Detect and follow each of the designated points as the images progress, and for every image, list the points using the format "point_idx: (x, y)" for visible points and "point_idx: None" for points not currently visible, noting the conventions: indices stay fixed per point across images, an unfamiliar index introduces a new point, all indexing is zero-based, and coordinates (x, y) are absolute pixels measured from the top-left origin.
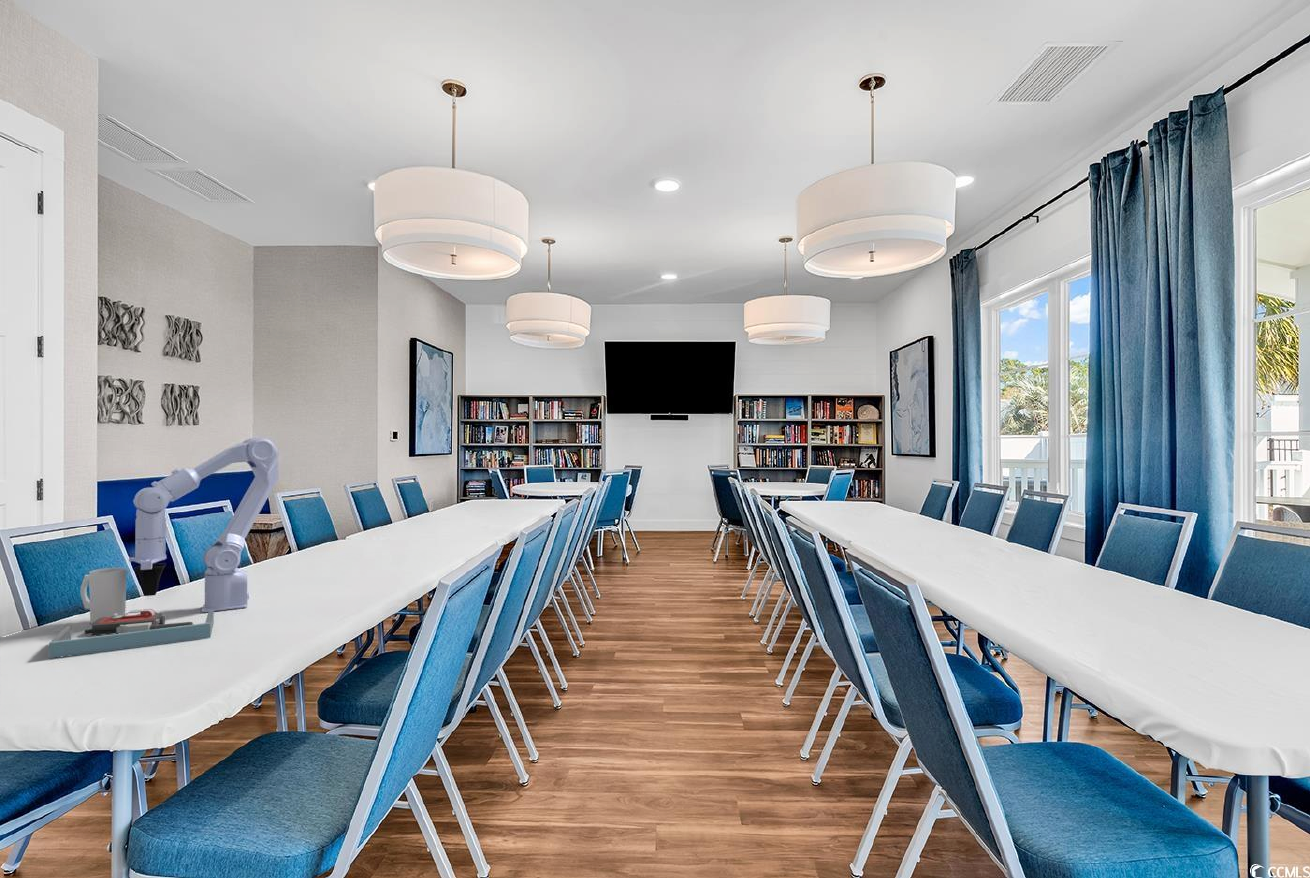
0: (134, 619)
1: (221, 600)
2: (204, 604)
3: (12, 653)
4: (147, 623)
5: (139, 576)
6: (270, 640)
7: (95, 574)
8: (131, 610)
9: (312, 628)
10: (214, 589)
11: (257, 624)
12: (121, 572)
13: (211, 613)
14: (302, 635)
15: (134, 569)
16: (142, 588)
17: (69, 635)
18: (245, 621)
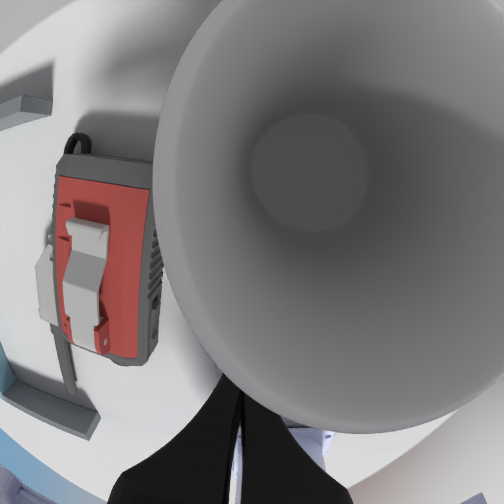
0: (61, 290)
1: (237, 472)
2: (327, 431)
3: (33, 28)
4: (49, 317)
5: (158, 451)
6: (7, 417)
7: (227, 5)
8: (93, 292)
9: (51, 460)
10: (239, 494)
11: (80, 447)
12: (286, 390)
13: (64, 429)
14: (25, 442)
15: (130, 491)
16: (214, 390)
17: (22, 117)
18: (105, 448)
